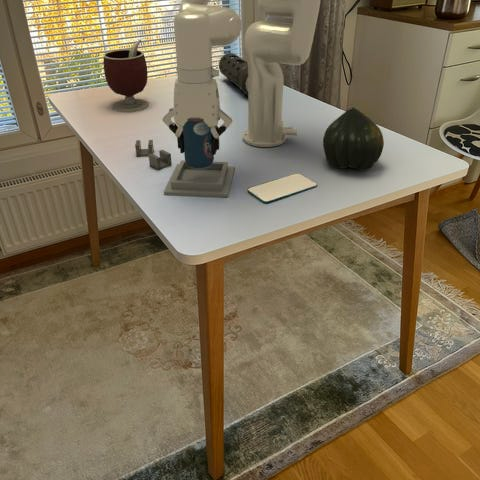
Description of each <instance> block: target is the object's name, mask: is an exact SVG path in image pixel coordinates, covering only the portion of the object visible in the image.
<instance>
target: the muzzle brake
mask: <svg viewBox="0 0 480 480" xmlns="http://www.w3.org/2000/svg"><path fill="white" fill-rule="evenodd" d="M218 70H219V73H221V75H223V76H224V77H225V78H227V80H229V81H230V82H232V83H233V84H234V85H236V86H237V87H238V88H239V89H240V90H241V91H242V92H243V93H245V94H246V95H247V96H248V79H249V78H248V61H246V60H245V59H243V58H242V57H240V55H239V56H238V55H237V54H235V53H233V52H227V53H225V54H223V55H222V57H221V58H220V59H219V61H218Z"/></svg>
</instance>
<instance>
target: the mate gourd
mask: <svg viewBox="0 0 480 480" xmlns="http://www.w3.org/2000/svg"><path fill="white" fill-rule="evenodd" d="M140 43H142V40H141V39H138V40H137V41H136V42H135V43H134V44H133V45H132V46H131V47H130V49H117V50H110V51H107V52H105V53H104V54H103V61H102V62H103V73H104V77H105V79H106V82H107V83H106V84H107V85H108V87H109V89H110V90H111V91H113V93H114V94H116V95H120V96H124V97H125V98H124V99H119V100H117V101H115V102H113V103H112V105H111V106H112V107H111V108H112V110H114V111H116V112H119V111H120V113H135V112H140V111H144V110H146V109H147V108H148V107H149V105H150V103H149V101H148V100H146V99H142V98H135V97H134V96H136V95H137V94H140V93H142V92H144V90H145V87H147V84H148V72H149V71H148V63H147V61H146V58H145V53H144V52H143V51H142V50H139V45H140Z"/></svg>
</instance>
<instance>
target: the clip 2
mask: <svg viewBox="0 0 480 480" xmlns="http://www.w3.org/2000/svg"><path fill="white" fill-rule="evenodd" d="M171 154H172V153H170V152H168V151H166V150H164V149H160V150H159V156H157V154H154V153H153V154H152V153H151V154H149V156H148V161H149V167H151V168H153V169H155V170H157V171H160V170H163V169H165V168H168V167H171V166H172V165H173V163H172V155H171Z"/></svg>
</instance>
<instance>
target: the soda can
mask: <svg viewBox="0 0 480 480" xmlns="http://www.w3.org/2000/svg"><path fill="white" fill-rule="evenodd" d="M187 120H188V121H187V122H186V123H185V124H184V126H183V140H184V153H183V154H184V161H185V162H186V163H187V164H188V166H189V167H190V168H193V169H205V168H208V167H210V166H211V164H212V162H214V160H215V155H213V154H212V138H213V134H212V132H211V128H210V127H209V126H208V125H207V124H206V123H205V122H204V119H201V120H192V119H187Z"/></svg>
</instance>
